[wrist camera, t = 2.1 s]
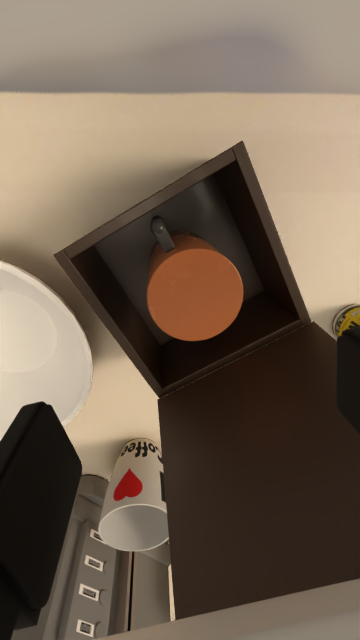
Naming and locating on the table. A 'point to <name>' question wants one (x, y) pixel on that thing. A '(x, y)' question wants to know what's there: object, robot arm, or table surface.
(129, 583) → the toaster
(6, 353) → the bowl
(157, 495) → the cup
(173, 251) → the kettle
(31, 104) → the table surface
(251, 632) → the robot arm
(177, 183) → the dark wooden lidded box
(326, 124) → the table surface
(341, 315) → the supplement bottle
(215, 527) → the box top
